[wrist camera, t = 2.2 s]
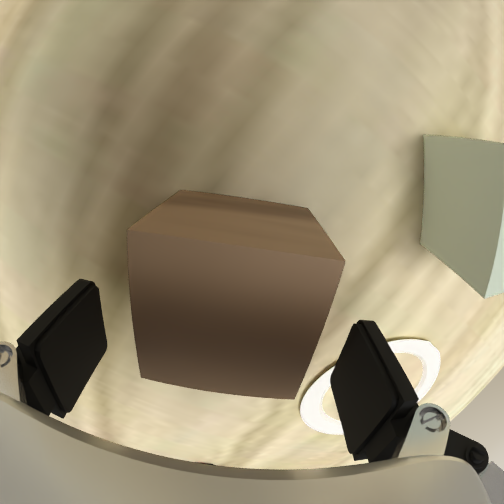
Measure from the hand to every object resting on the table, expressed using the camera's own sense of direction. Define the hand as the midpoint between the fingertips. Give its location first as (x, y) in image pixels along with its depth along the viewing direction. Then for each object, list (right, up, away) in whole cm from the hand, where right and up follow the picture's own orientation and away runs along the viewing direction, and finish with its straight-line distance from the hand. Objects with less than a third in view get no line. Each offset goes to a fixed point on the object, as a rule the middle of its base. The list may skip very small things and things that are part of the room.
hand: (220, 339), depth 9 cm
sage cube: (+13, +6, +3) cm, 15 cm away
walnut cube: (0, +3, +5) cm, 5 cm away
